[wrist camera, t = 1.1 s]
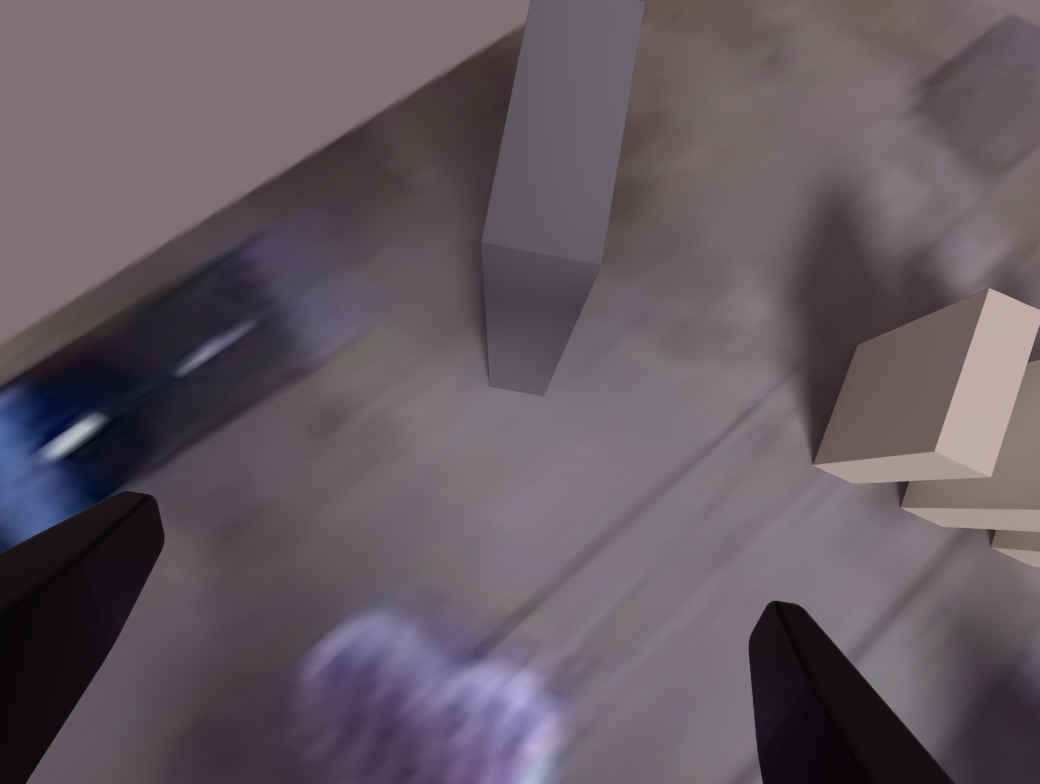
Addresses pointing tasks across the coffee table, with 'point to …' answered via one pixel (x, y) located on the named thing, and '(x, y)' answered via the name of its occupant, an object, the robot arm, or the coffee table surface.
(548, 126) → the slate domino
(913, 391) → the ivory domino
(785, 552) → the coffee table surface
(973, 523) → the ivory domino
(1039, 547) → the ivory domino
